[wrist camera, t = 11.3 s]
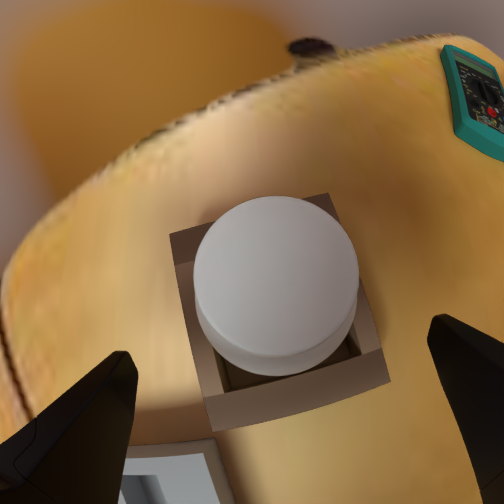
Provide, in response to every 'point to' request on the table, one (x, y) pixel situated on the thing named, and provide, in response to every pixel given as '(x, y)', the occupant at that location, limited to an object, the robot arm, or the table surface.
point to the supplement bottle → (276, 285)
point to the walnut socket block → (275, 387)
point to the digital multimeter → (475, 101)
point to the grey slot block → (175, 474)
